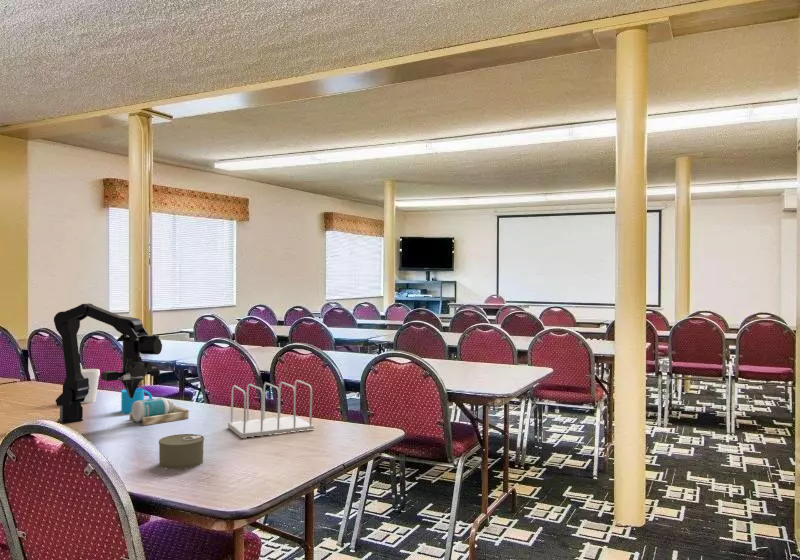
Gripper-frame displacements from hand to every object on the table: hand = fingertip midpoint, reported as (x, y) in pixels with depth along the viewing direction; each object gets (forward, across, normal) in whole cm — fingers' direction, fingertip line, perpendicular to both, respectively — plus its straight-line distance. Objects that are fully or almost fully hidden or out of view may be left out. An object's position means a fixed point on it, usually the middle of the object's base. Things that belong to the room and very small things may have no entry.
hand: (131, 397), depth 223 cm
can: (+10, -9, -58) cm, 59 cm away
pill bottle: (+5, +1, 0) cm, 5 cm away
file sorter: (+10, +31, -41) cm, 52 cm away
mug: (+9, +11, +21) cm, 26 cm away
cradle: (+9, +10, 0) cm, 13 cm away
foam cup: (+9, +3, +52) cm, 53 cm away
